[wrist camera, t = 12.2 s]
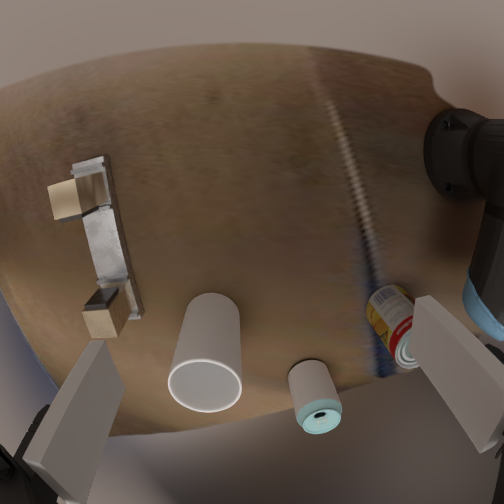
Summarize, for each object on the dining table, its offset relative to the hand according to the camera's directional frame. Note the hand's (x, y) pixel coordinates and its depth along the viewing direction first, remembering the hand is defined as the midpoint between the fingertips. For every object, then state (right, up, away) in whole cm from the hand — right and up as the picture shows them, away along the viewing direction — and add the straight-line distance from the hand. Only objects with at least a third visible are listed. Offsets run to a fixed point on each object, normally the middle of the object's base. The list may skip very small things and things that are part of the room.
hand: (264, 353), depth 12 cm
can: (+9, -17, +40) cm, 44 cm away
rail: (-21, +6, +30) cm, 38 cm away
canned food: (+22, -5, +36) cm, 43 cm away
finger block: (-22, +12, +26) cm, 36 cm away
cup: (-6, -6, +35) cm, 36 cm away
